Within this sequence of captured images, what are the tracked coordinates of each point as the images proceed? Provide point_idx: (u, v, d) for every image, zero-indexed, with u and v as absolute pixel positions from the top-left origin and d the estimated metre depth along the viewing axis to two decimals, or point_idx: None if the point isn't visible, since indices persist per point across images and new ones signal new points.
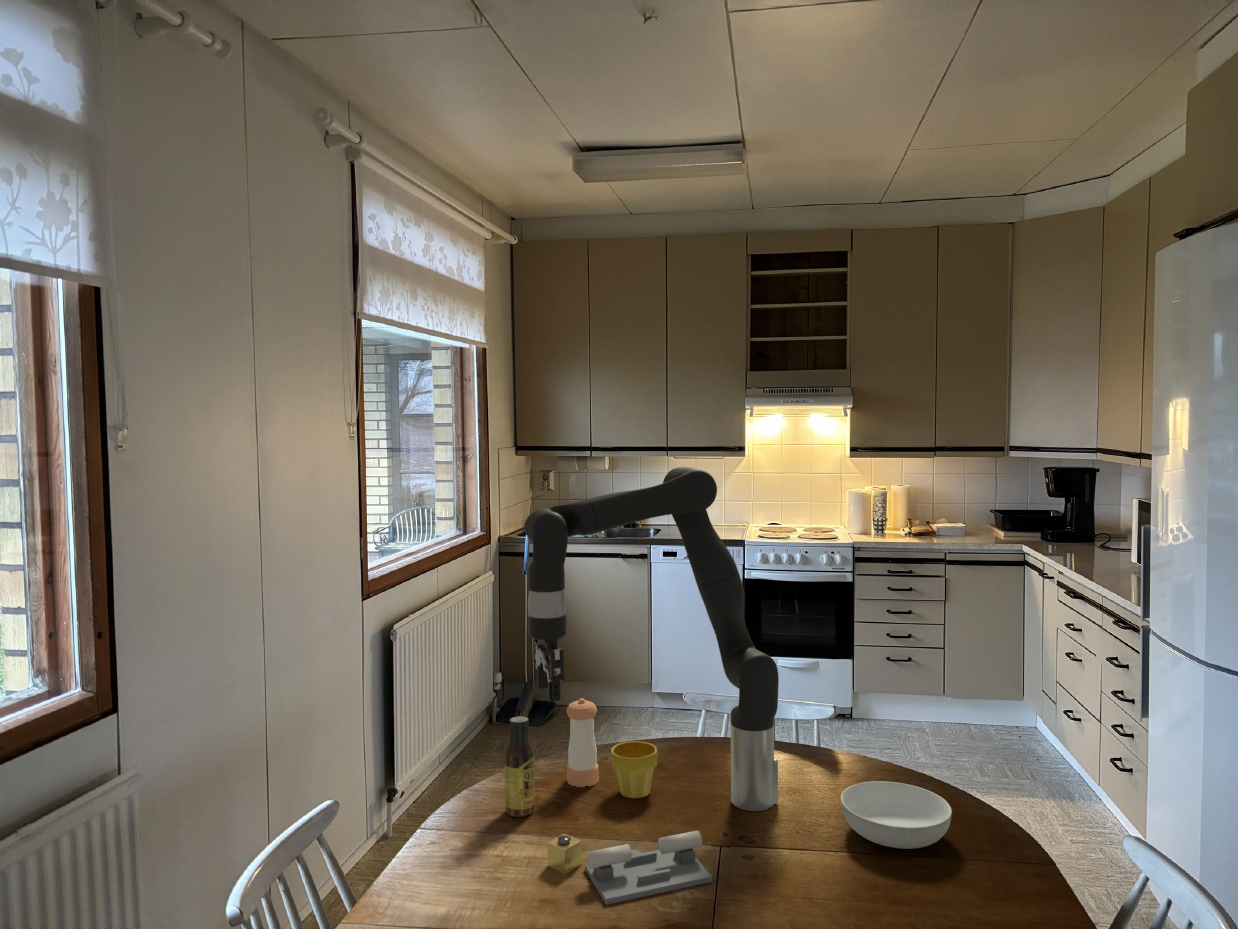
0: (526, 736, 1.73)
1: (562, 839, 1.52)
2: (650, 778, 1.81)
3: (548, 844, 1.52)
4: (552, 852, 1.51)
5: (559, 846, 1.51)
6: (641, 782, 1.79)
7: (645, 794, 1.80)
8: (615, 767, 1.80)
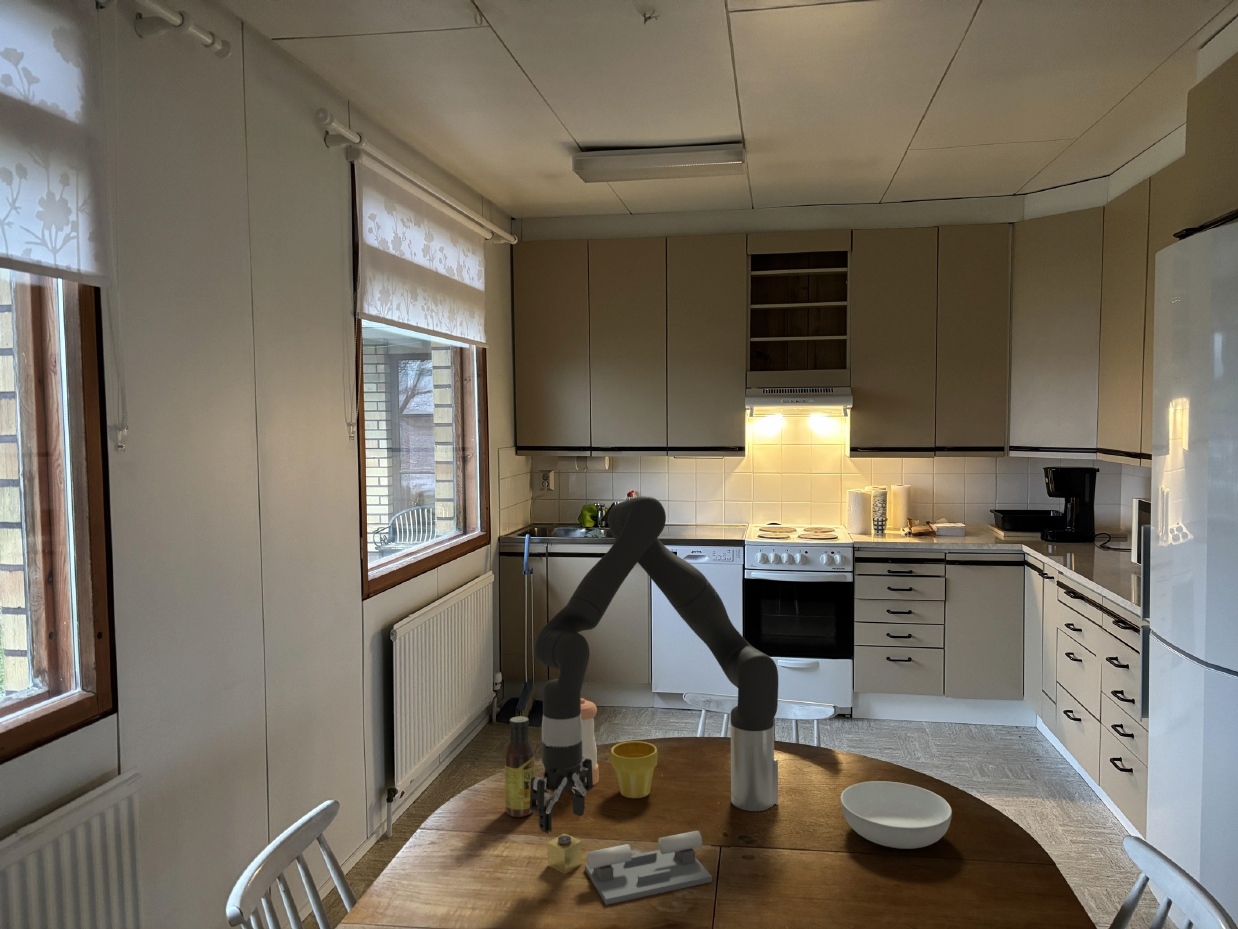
0: (526, 736, 1.73)
1: (562, 839, 1.52)
2: (650, 778, 1.81)
3: (548, 844, 1.52)
4: (552, 852, 1.51)
5: (560, 846, 1.51)
6: (641, 782, 1.79)
7: (645, 794, 1.80)
8: (615, 767, 1.80)
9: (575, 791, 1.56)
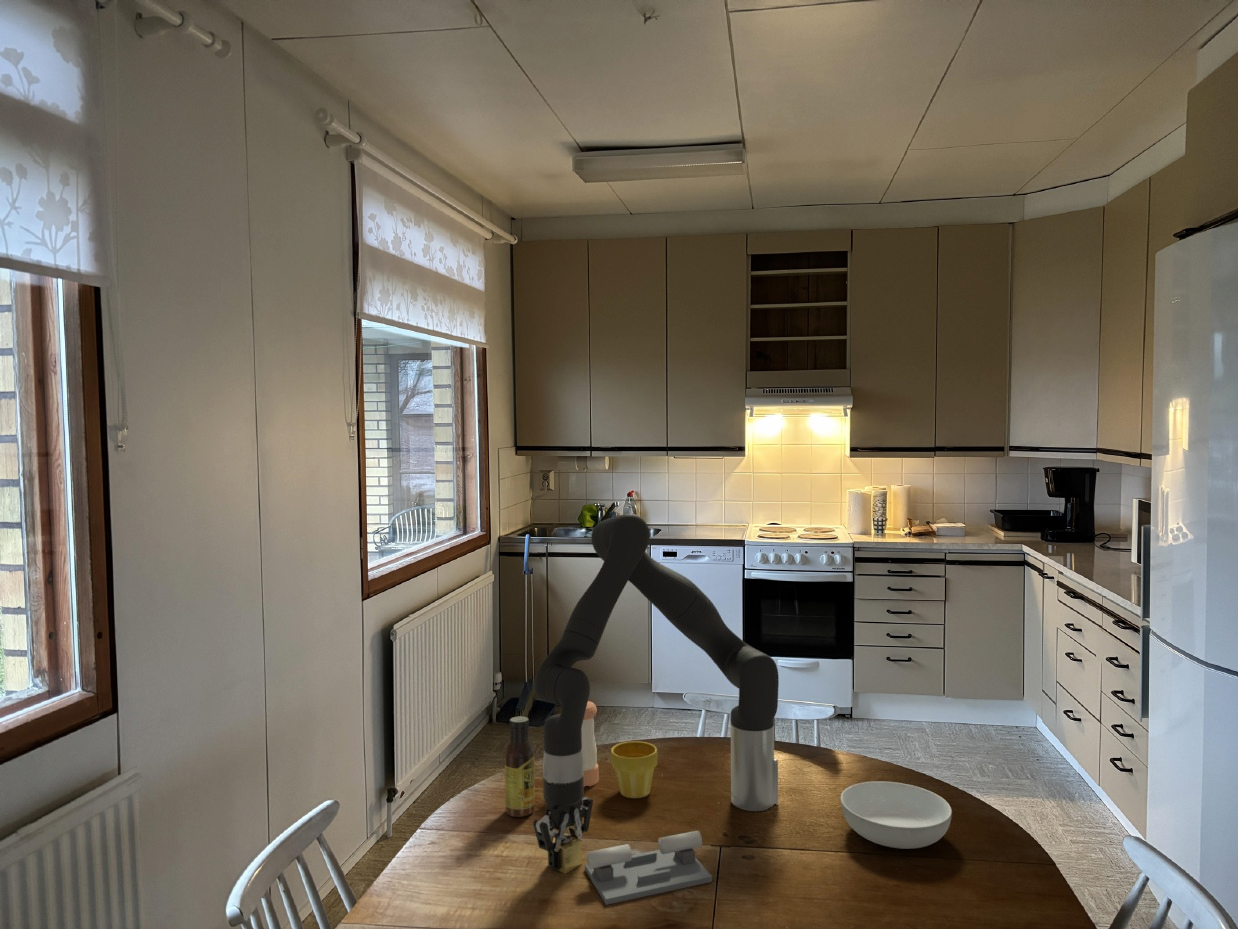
0: (526, 736, 1.73)
1: (562, 838, 1.52)
2: (650, 778, 1.81)
3: None
4: None
5: None
6: (641, 782, 1.79)
7: (645, 794, 1.80)
8: (615, 767, 1.80)
9: (571, 832, 1.55)
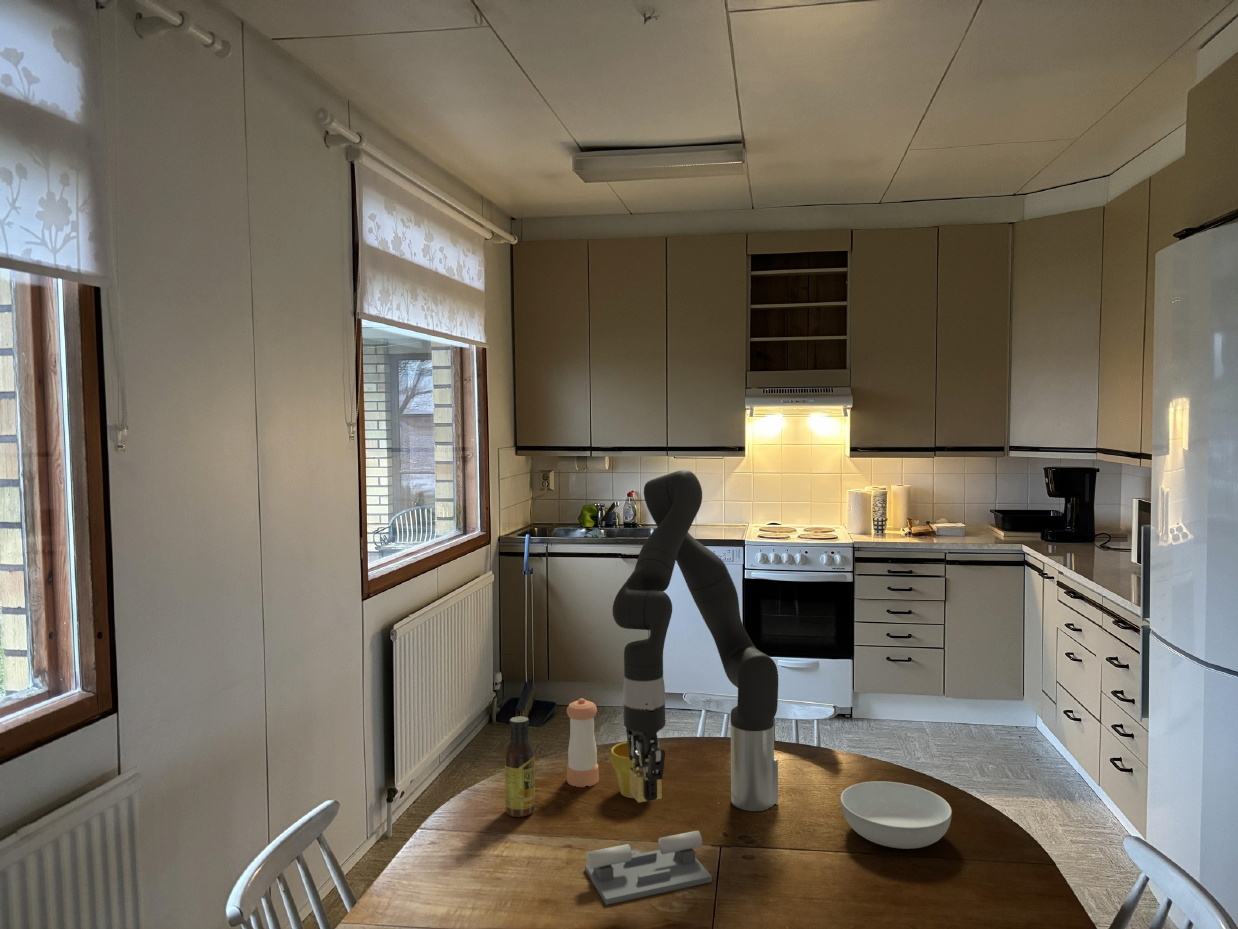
0: (526, 736, 1.73)
1: None
2: None
3: (639, 778, 1.45)
4: None
5: None
6: None
7: None
8: (615, 767, 1.80)
9: (637, 763, 1.50)
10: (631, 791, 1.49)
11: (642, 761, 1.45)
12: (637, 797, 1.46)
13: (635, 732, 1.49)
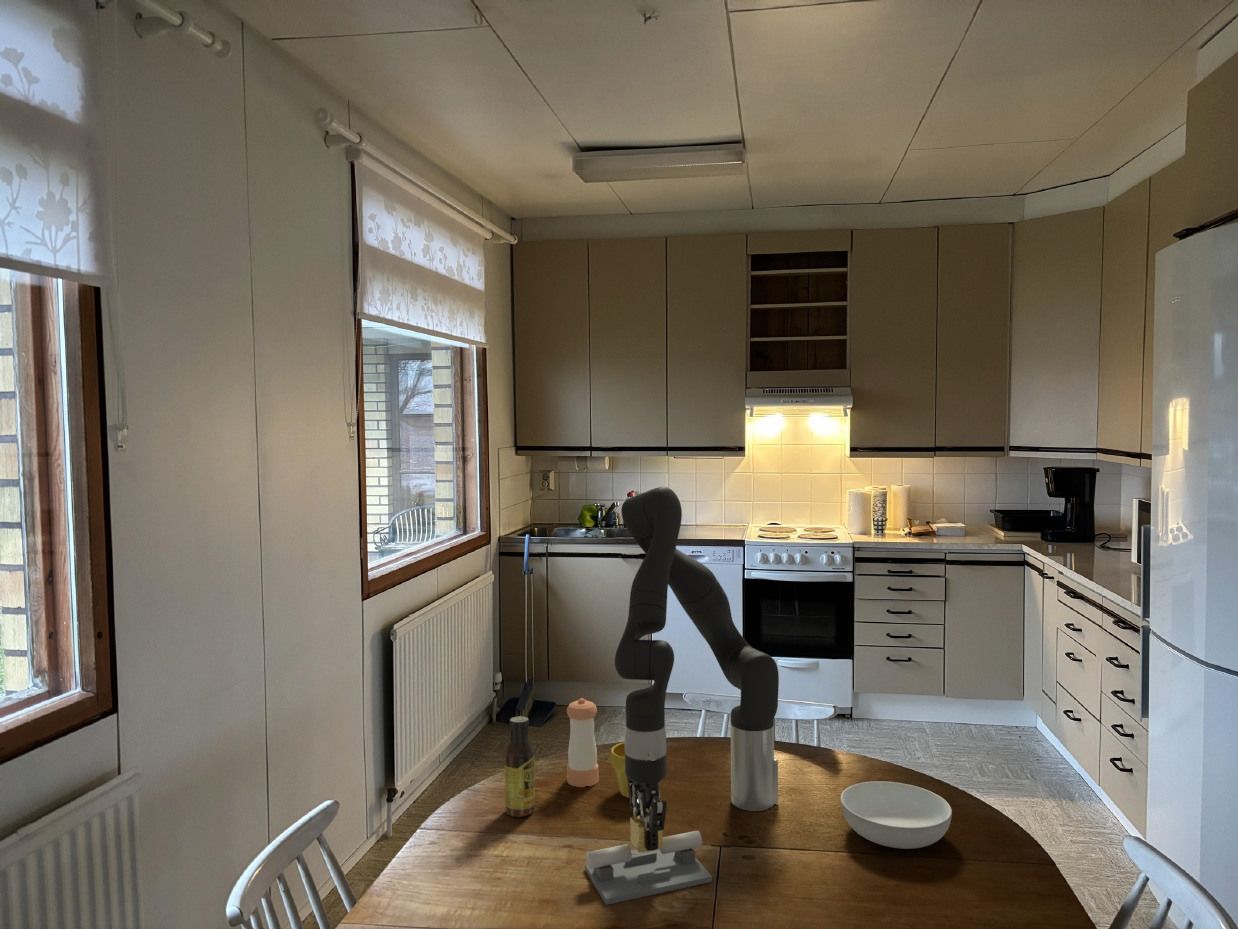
0: (526, 736, 1.73)
1: None
2: None
3: (640, 828, 1.45)
4: None
5: None
6: None
7: None
8: (615, 767, 1.80)
9: (638, 812, 1.50)
10: (632, 840, 1.49)
11: (643, 811, 1.45)
12: (638, 847, 1.46)
13: None
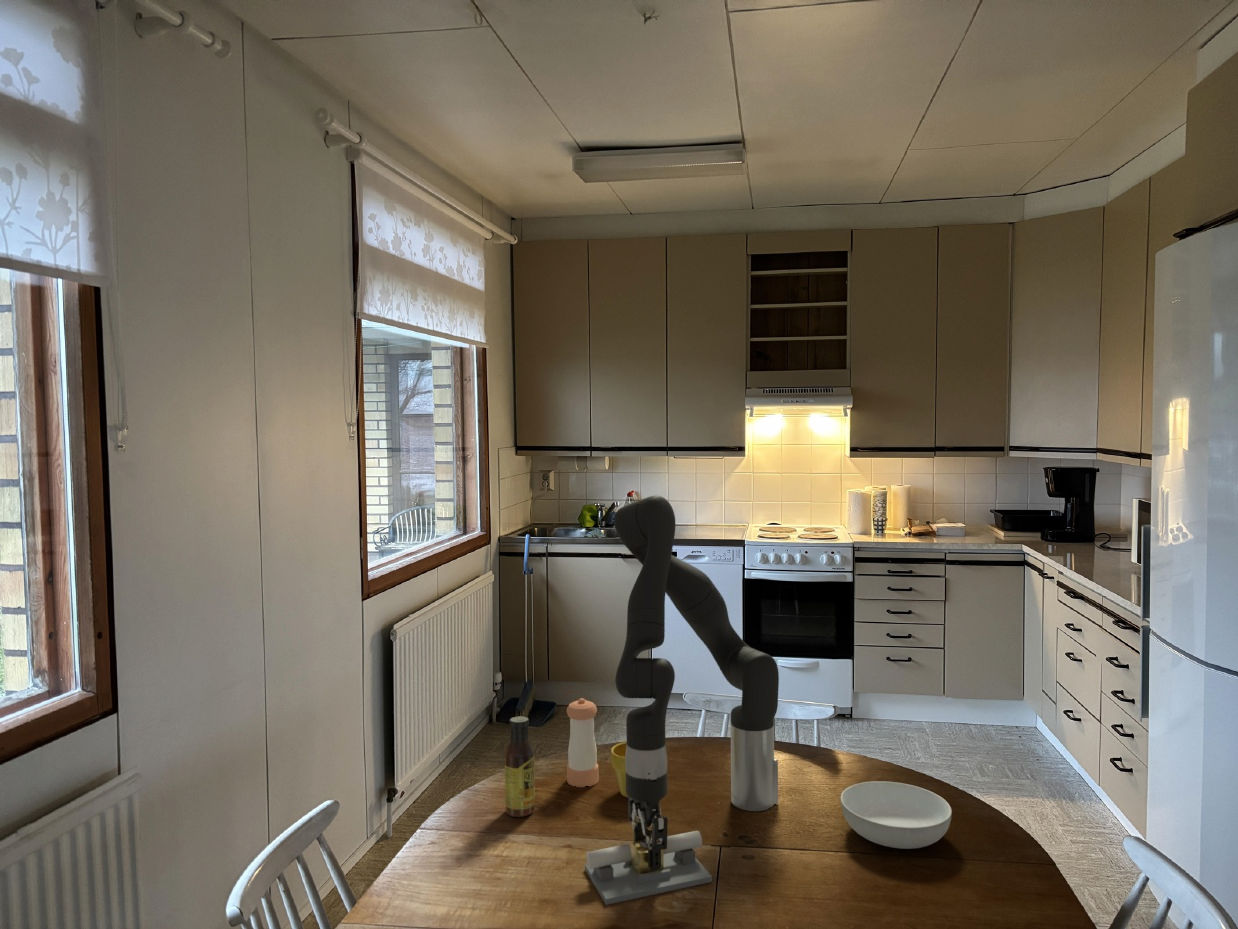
0: (526, 736, 1.73)
1: None
2: None
3: (641, 855, 1.46)
4: (646, 860, 1.46)
5: None
6: None
7: None
8: (615, 767, 1.80)
9: (637, 826, 1.51)
10: (633, 865, 1.49)
11: (645, 829, 1.44)
12: (639, 873, 1.46)
13: None
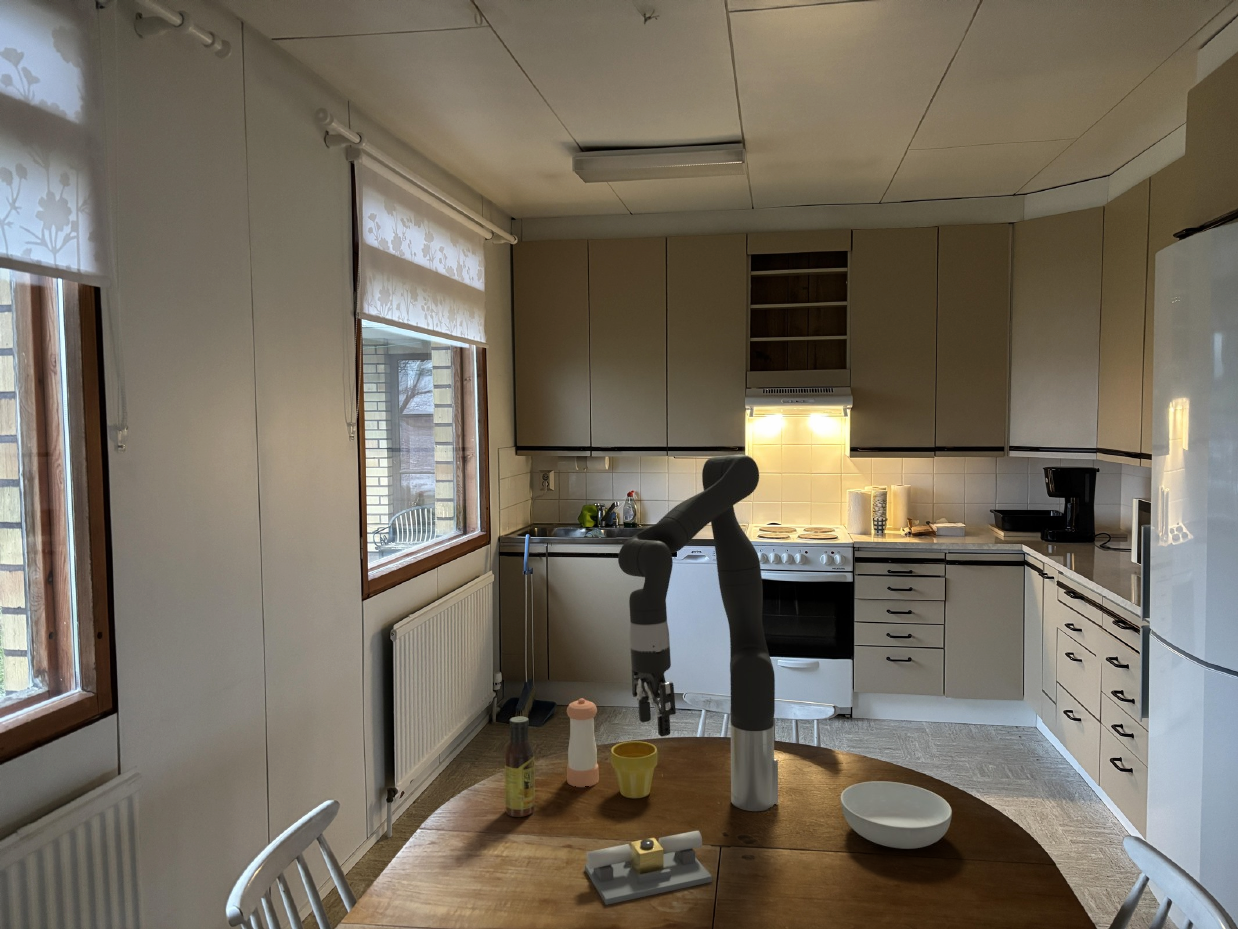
0: (526, 736, 1.73)
1: (647, 843, 1.48)
2: (650, 778, 1.81)
3: (641, 855, 1.46)
4: (646, 860, 1.46)
5: (653, 849, 1.47)
6: (641, 782, 1.79)
7: (645, 794, 1.80)
8: (615, 767, 1.80)
9: (641, 699, 1.60)
10: (633, 865, 1.49)
11: (653, 698, 1.52)
12: (639, 873, 1.46)
13: (642, 675, 1.57)
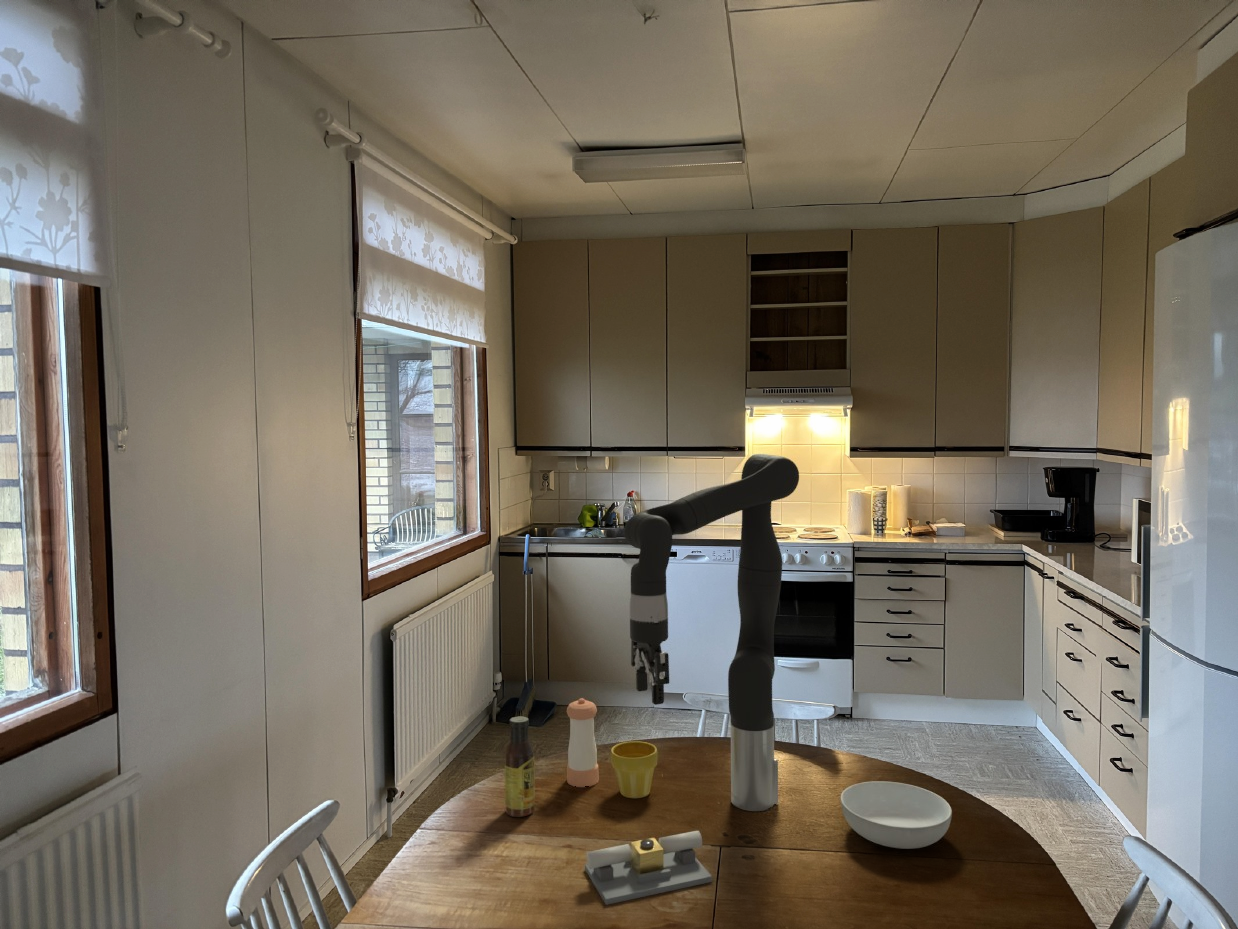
0: (526, 736, 1.73)
1: (647, 843, 1.48)
2: (650, 778, 1.81)
3: (641, 855, 1.46)
4: (646, 860, 1.46)
5: (653, 849, 1.47)
6: (641, 782, 1.79)
7: (645, 794, 1.80)
8: (615, 767, 1.80)
9: (639, 669, 1.65)
10: (633, 865, 1.49)
11: (648, 667, 1.57)
12: (639, 873, 1.46)
13: (640, 645, 1.62)
